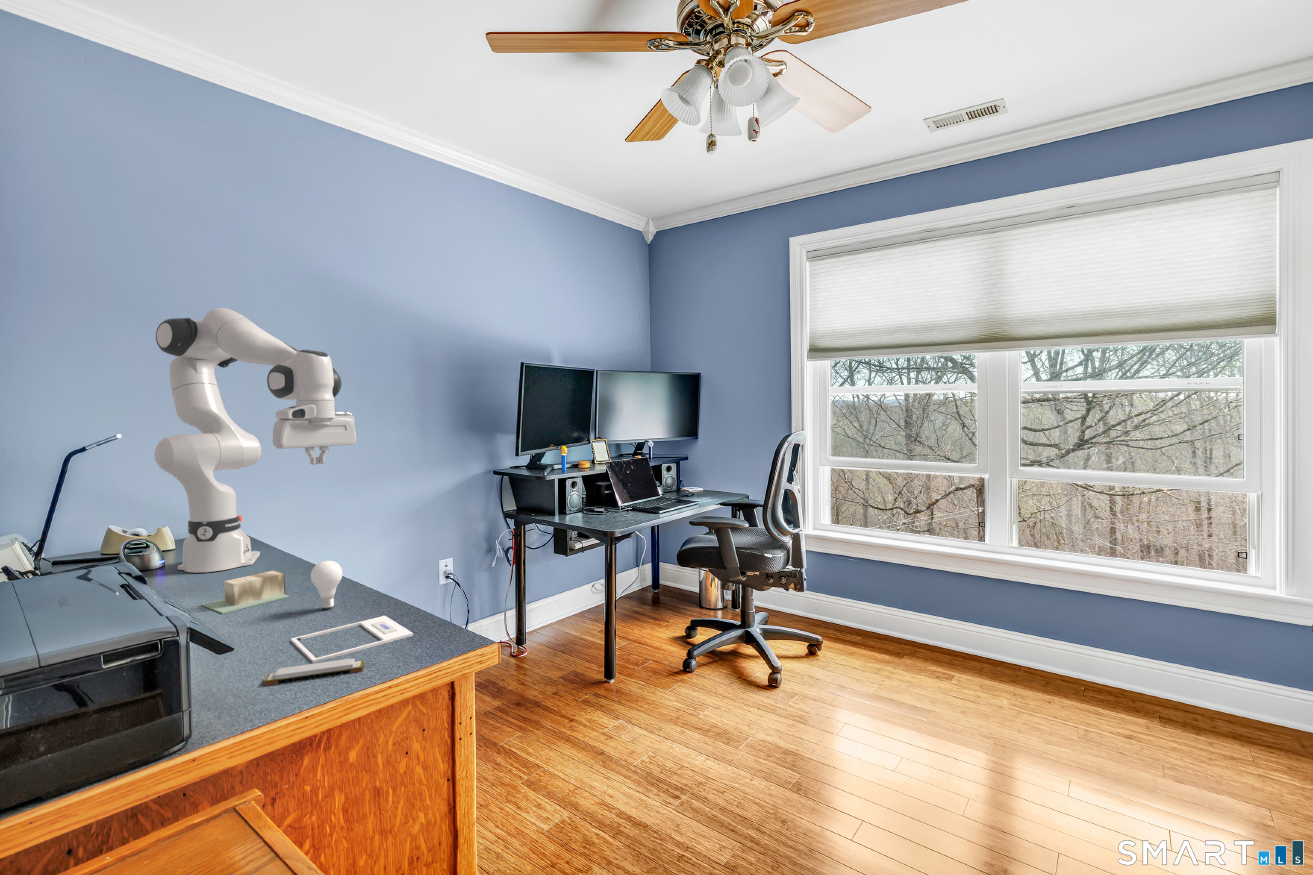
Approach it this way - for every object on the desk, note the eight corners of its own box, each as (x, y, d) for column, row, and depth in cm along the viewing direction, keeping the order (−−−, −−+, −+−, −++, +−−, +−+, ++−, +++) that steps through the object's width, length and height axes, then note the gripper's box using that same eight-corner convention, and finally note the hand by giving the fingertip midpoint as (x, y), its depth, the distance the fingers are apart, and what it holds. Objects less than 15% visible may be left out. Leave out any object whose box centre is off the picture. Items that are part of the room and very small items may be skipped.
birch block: (274, 570, 150) (224, 581, 141) (284, 573, 147) (233, 584, 138) (275, 589, 150) (225, 601, 141) (285, 593, 148) (234, 605, 138)
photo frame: (413, 632, 120) (312, 659, 107) (413, 637, 120) (313, 665, 107) (385, 614, 130) (290, 637, 118) (385, 619, 130) (291, 643, 118)
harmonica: (364, 666, 106) (363, 655, 106) (362, 673, 104) (362, 662, 104) (268, 680, 101) (268, 669, 101) (264, 688, 98) (263, 676, 98)
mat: (267, 589, 151) (267, 588, 151) (289, 597, 145) (289, 595, 145) (201, 605, 140) (201, 604, 140) (222, 613, 134) (222, 612, 134)
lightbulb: (319, 615, 132) (317, 565, 132) (306, 609, 136) (305, 561, 136) (348, 607, 137) (347, 560, 137) (335, 602, 141) (334, 556, 141)
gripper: (347, 411, 168) (349, 460, 169) (268, 412, 151) (270, 466, 152) (360, 411, 165) (362, 461, 165) (280, 412, 148) (282, 467, 148)
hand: (317, 464), depth 158 cm, fingers closed
